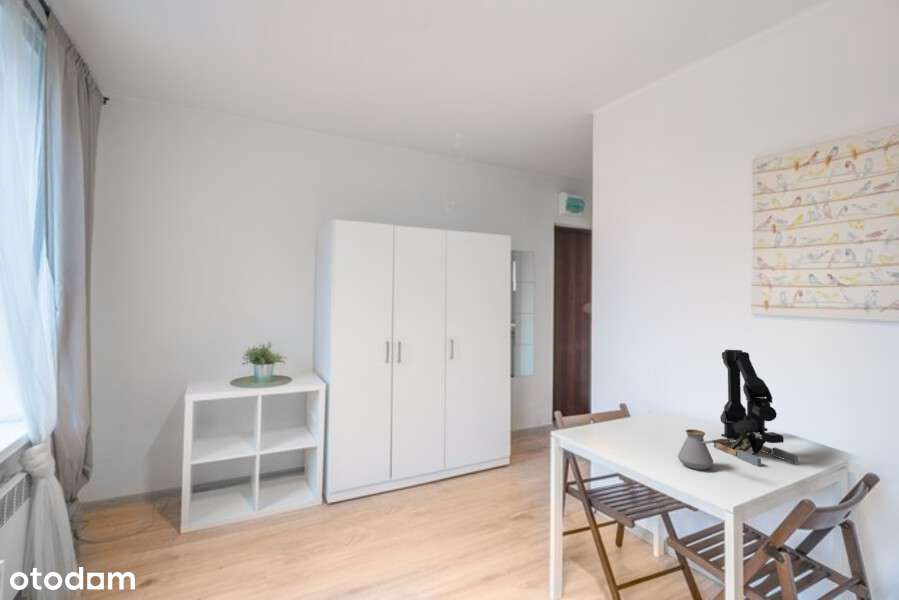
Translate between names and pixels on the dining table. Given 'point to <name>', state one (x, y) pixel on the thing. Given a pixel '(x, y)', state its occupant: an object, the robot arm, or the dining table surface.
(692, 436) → the coffee pot
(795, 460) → the bay
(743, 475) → the dining table surface
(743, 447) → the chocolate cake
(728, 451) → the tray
